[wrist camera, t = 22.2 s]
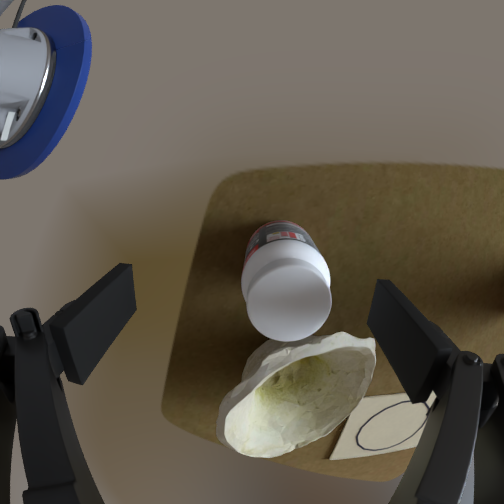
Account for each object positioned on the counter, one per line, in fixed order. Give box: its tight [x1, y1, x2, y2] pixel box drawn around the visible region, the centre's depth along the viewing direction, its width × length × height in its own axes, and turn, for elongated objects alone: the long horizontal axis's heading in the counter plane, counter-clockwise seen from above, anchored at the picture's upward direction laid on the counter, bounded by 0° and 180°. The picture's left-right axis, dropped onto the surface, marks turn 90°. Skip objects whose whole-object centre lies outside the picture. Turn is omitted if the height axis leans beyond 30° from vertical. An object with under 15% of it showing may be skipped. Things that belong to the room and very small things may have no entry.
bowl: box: [216, 331, 376, 458], centre depth 23 cm, size 15×14×10 cm
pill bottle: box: [241, 221, 332, 341], centre depth 20 cm, size 6×6×10 cm
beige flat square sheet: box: [329, 391, 436, 460], centre depth 31 cm, size 14×16×1 cm
